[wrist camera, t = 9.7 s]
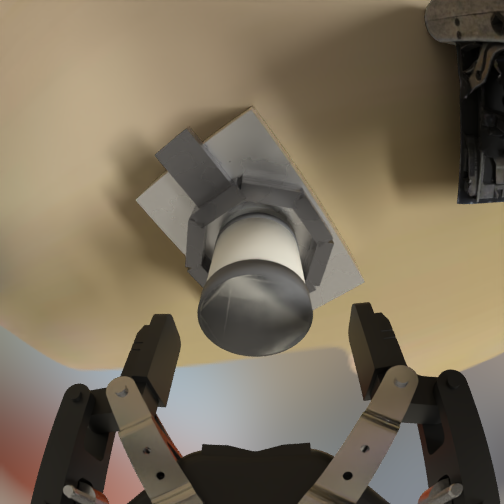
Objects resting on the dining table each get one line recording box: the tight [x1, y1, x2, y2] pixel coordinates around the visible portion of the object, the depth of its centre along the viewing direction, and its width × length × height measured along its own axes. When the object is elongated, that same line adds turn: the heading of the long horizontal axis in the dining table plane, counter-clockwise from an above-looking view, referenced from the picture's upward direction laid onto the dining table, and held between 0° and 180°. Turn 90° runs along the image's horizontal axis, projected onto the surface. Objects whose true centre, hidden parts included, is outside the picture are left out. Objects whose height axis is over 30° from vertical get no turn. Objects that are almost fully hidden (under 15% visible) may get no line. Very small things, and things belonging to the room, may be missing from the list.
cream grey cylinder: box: [198, 207, 313, 357], centre depth 16 cm, size 5×5×7 cm
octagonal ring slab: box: [136, 106, 365, 310], centre depth 20 cm, size 9×15×6 cm, turn 36°
